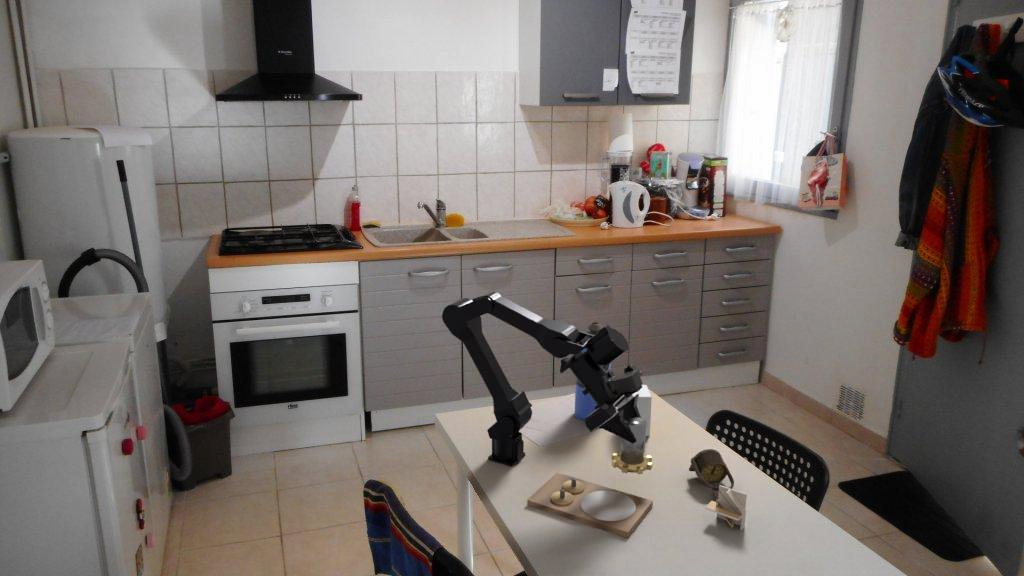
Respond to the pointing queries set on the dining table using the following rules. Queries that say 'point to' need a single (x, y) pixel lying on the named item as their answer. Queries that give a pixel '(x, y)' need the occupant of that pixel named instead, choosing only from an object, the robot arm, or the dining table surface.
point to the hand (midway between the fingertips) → (639, 437)
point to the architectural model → (730, 506)
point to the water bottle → (584, 402)
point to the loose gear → (633, 449)
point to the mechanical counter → (710, 469)
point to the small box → (644, 406)
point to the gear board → (591, 504)
